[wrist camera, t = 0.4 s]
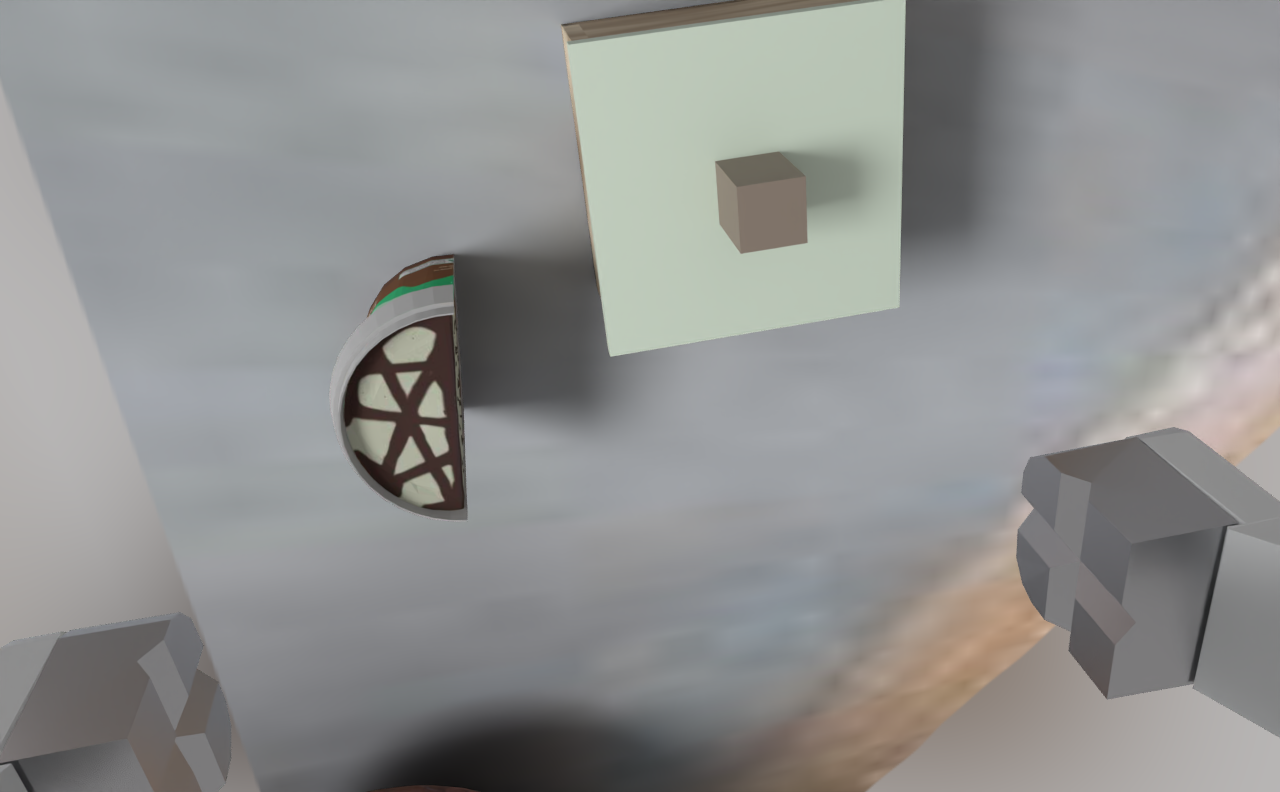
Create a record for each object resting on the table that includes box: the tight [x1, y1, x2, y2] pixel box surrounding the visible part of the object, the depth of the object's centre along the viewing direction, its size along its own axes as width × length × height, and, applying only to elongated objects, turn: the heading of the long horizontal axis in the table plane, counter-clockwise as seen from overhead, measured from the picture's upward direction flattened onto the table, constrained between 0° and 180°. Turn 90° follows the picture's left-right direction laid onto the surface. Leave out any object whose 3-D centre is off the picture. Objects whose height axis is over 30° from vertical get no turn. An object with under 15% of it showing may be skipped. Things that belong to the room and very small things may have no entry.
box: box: [561, 0, 858, 298], centre depth 51 cm, size 14×14×7 cm
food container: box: [329, 254, 467, 522], centre depth 52 cm, size 12×6×10 cm, turn 178°
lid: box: [567, 0, 906, 357], centre depth 46 cm, size 15×15×5 cm
